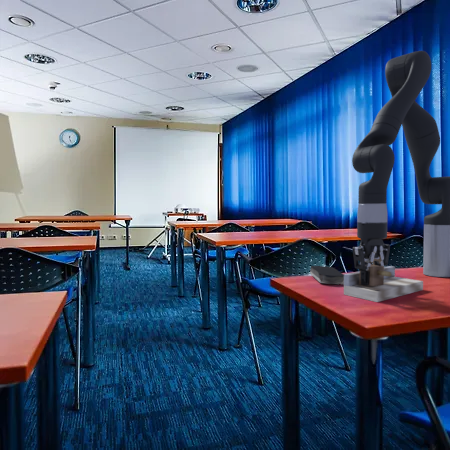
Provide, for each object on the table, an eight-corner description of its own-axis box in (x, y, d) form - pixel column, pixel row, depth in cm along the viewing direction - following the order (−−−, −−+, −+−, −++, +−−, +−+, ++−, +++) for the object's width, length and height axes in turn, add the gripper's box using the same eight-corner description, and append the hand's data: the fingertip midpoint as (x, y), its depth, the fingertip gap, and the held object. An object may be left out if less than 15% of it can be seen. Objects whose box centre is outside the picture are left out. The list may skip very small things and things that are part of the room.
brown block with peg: (370, 282, 102) (370, 264, 102) (396, 287, 96) (396, 268, 96) (359, 283, 99) (359, 265, 99) (385, 288, 93) (385, 269, 93)
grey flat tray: (389, 283, 112) (389, 266, 111) (422, 289, 103) (423, 270, 103) (343, 294, 99) (343, 274, 99) (377, 302, 91) (377, 280, 91)
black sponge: (309, 276, 127) (309, 265, 127) (333, 275, 127) (333, 265, 127) (319, 286, 111) (319, 274, 111) (347, 286, 111) (347, 274, 111)
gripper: (375, 219, 106) (374, 278, 106) (343, 221, 97) (343, 284, 98) (400, 220, 99) (399, 282, 100) (368, 221, 91) (367, 289, 92)
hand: (371, 282), depth 99 cm, fingers closed on brown block with peg, 5 cm apart
